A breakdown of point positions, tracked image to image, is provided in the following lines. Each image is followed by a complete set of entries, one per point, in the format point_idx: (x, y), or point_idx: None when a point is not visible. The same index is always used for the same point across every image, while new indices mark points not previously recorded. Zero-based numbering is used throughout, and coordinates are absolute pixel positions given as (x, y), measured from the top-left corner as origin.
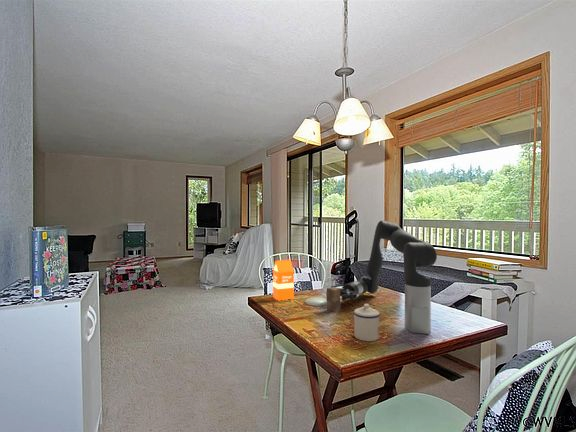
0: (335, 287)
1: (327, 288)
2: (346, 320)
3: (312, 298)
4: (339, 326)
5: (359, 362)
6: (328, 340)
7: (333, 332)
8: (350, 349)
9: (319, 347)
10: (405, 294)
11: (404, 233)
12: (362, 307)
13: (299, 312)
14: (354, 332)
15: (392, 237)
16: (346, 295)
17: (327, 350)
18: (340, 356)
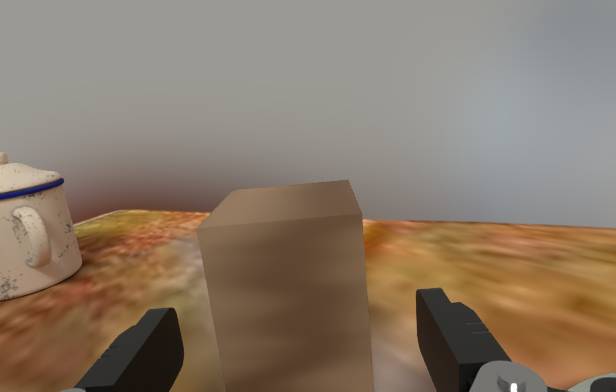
0: (284, 216)
1: (337, 181)
2: None
3: None
4: (155, 280)
5: (79, 222)
6: (169, 229)
7: (168, 251)
8: (99, 232)
9: (181, 214)
10: None
11: None
12: (15, 163)
13: (444, 275)
14: (79, 250)
15: None
16: (108, 373)
17: (158, 216)
18: (124, 217)
